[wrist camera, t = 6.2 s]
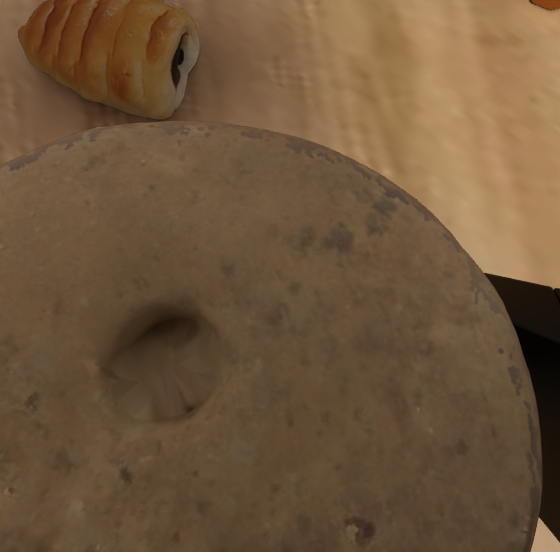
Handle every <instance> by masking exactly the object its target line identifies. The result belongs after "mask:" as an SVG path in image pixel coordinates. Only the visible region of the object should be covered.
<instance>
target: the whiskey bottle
mask: <svg viewBox="0 0 560 552" xmlns="http://www.w3.org/2000/svg"><path fill="white" fill-rule="evenodd" d="M531 1H532V2H533V3H534V4H536V5H539V6H541V7H544V8H546V9H549V10H555V9H559V8H560V0H531Z"/></svg>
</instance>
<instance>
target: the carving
mask: <svg viewBox="0 0 560 552" xmlns="http://www.w3.org/2000/svg"><path fill="white" fill-rule="evenodd" d="M541 494H542V449H541V434H540V425H539V416H538V409H537V403H536V398H535V393H534V389H533V385H532V381H531V377H530V373H529V370H528V368H527V365H526V362H525V359H524V356H523V352H522V349H521V345H520V342H519V339H518V336H517V333H516V330H515V328H514V326H513V324H512V322H511V319H510V317H509V315H508V313H507V311H506V308H505V305H504V303H503V301H502V300H501V298H500V297H499V295H498V293H497V292H496V290H495V288H494V287H493V285H492V284H491V283H490V281H489V280H488V278H487V277H486V276H485V274H484V273H483V272H482V270H481V269H480V268H479V266H478V265H477V264H476V263H475V261H474V260H473V259H472V258H471V257H470V255H469V254H468V253H467V252H466V251H465V250H464V249H463V248H462V247H461V245H460V244H459V243H458V241H457V240H456V239H455V237H454V236H453V235H452V233H451V232H450V231H449V230H448V229H447V228H446V227H445V226H444V225H443V224H442V223H441V222H440V221H439V220H438V219H437V218H436V217H435V216H434V215H433V214H432V213H431V212H430V211H429V210H428V209H427V208H426V207H425V206H423V205H422V204H421V203H420V202H419V201H418V200H417V199H415V198H414V197H413V196H411V195H410V194H408V193H407V192H406V191H404V190H403V189H401V188H400V187H399V186H397V185H396V184H394V183H393V182H391V181H390V180H388V179H387V178H385V177H384V176H382V175H381V174H379V173H377V172H376V171H374V170H372V169H370V168H368V167H367V166H365V165H363V164H361V163H359V162H357V161H355V160H353V159H351V158H349V157H347V156H345V155H343V154H341V153H339V152H337V151H334V150H332V149H330V148H327V147H325V146H322V145H320V144H317V143H314V142H311V141H308V140H305V139H301V138H298V137H295V136H291V135H286V134H282V133H278V132H274V131H269V130H263V129H258V128H252V127H245V126H238V125H231V124H224V123H212V122H201V121H164V122H147V123H132V124H121V125H112V126H100V127H96V128H92V129H89V130H86V131H83V132H79V133H76V134H72V135H69V136H67V137H64V138H62V139H59V140H57V141H54V142H52V143H49V144H47V145H44V146H42V147H40V148H38V149H35V150H33V151H31V152H28V153H26V154H23V155H21V156H19V157H17V158H15V159H13V160H11V161H9V162H7V163H5V164H3V165H1V166H0V552H530V551H531V548H532V544H533V540H534V536H535V532H536V527H537V522H538V517H539V512H540V504H541Z"/></svg>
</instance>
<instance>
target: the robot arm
mask: <svg viewBox="0 0 560 552" xmlns="http://www.w3.org/2000/svg"><path fill="white" fill-rule="evenodd" d="M484 274H485V276H486V277H487V278H488V280H489V281H490V283H491V284H492V285H493V287H494V288H495V290H496V292H497V293H498V295H499V297H500V298H501V300H502V301H503V303H504V305H505V308H506V311H507V313H508V315H509V317H510V319H511V322H512V324H513V326H514V328H515V330H516V333H517V336H518V339H519V342H520V345H521V349H522V352H523V356H524V359H525V362H526V365H527V368H528V370H529V373H530V377H531V381H532V385H533V389H534V393H535V398H536V403H537V409H538V416H539V425H540V434H541V449H542V494H541V504H540V512H539V518H540V519H541V520H542V521H543V522H544V524H545V525H546V526H547V527H548V529H549V530H550V531H551V532H552V534H553V535H554V536H555V537H556V538H557V540H558V541H559V542H560V289H559V288H555V289H554V290H553V288H552V287H549V286H544V285H540V284H535V283H530V282H526V281H521V280H516V279H511V278H507V277H502V276H497V275H492V274H488V273H484Z"/></svg>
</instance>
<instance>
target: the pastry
mask: <svg viewBox="0 0 560 552" xmlns="http://www.w3.org/2000/svg"><path fill="white" fill-rule="evenodd" d="M18 38H19V41H20V43H21V45H22V47H23V49H24V51H25V54H26V56H27V58H28V60H29V61H30V63H31V64H32V65H34V66H35V67H37V68H39V69H41V70H43V71H44V72H45V73H46V74H48V75H50V76H52V77H53V78H54V79H55V80H56V81H57V82H58V83H60V84H62V85H64V86H67V87H68V88H70V89H72V90H74V91H75V92H77V93H78V94H79V95H80V96H82V97H83V98H84V99H85V100H87V101H90V102H100V103H102V104H104V105H106V106H110V107H113V108H116V109H119V110H121V111H123V112H125V113H129V114H133V115H136V116H141V117H144V118H150V119H156V120H160V119H166V118H169V117H171V116H172V115H173V111H174V110H175V109H177V108H178V107H179V106H180V104H181V102H182V100H183V97H184V95H185V88H186V85H187V77H188V73H189V71H190V70H191V69H192V68H193V66H194V65H195V63H196V61H197V58H198V54H199V51H200V41H199V35H198V32H197V28H196V25H195V23H194V21H193V19H192V18H191V17H190V16H189V15H188V14H187V13H186V12H185V11H184V10H183V9H180V8H179V9H173V8H171V7H169V6H167V5H165V4H163V3H160V2H158V1H155V0H47V1H45V2H43V3H42V4H41V5H40V6H39V7H38V8H37V9H36V10H35V11H34V13H33V14H32V15H31V16H30V18H29V20H28V22H27V24H26V25H24V26H22V27H21V28H20V29H19V31H18Z"/></svg>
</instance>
